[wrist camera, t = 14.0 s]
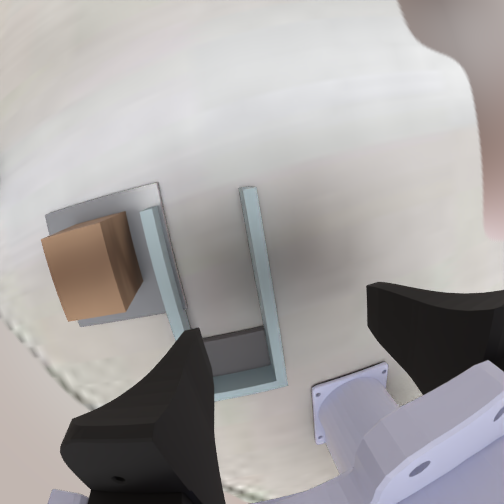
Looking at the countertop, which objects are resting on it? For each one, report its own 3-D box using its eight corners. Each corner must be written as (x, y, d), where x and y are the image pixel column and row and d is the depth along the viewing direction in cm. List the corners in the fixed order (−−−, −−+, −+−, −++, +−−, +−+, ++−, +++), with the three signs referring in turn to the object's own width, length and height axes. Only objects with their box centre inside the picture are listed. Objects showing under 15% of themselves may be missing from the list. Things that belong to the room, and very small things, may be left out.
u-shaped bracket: (280, 367, 24) (287, 385, 21) (199, 384, 23) (199, 403, 21) (250, 186, 20) (256, 187, 17) (147, 207, 19) (139, 211, 17)
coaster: (187, 305, 21) (186, 308, 21) (82, 323, 20) (80, 327, 20) (157, 182, 19) (156, 182, 18) (48, 213, 18) (44, 215, 17)
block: (143, 281, 20) (126, 312, 15) (94, 290, 19) (68, 321, 14) (125, 210, 18) (99, 222, 13) (75, 224, 18) (40, 239, 13)
